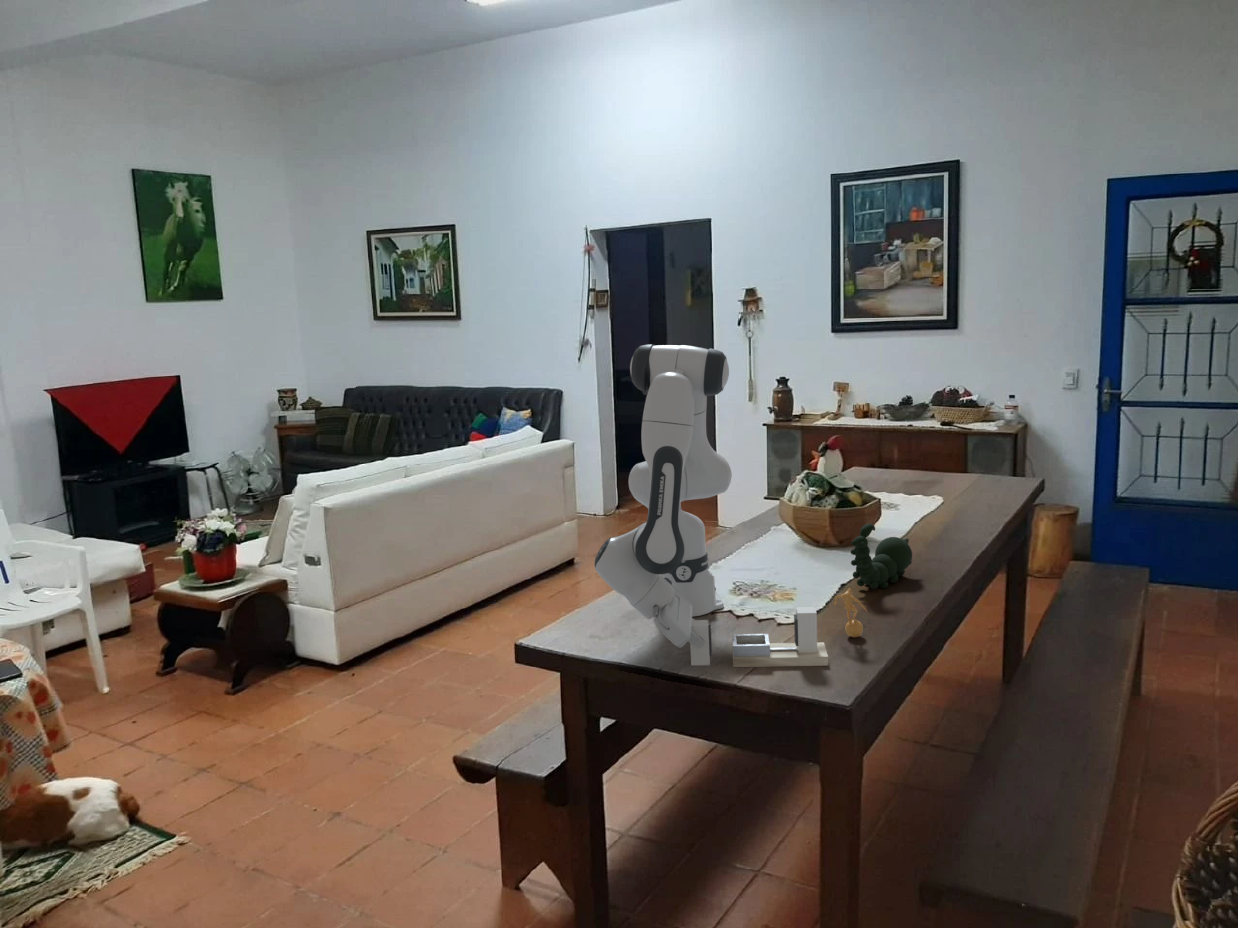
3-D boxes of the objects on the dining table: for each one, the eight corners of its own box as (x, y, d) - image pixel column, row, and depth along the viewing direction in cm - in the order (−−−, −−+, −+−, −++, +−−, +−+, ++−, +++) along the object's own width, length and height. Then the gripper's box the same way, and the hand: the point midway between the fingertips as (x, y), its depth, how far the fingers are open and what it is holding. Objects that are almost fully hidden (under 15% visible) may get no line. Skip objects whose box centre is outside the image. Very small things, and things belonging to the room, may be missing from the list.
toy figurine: (876, 604, 243) (925, 570, 260) (872, 533, 238) (922, 504, 255) (844, 597, 250) (893, 564, 266) (839, 528, 245) (890, 499, 261)
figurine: (875, 638, 217) (874, 587, 215) (861, 646, 213) (860, 594, 211) (842, 630, 223) (842, 580, 221) (828, 638, 219) (827, 587, 216)
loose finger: (691, 658, 212) (689, 620, 210) (712, 658, 211) (710, 619, 210) (691, 665, 208) (689, 626, 207) (712, 665, 208) (710, 625, 206)
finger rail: (732, 652, 214) (730, 605, 212) (823, 650, 212) (823, 603, 210) (733, 666, 206) (731, 618, 204) (828, 665, 204) (827, 616, 202)
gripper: (662, 605, 197) (712, 649, 198) (667, 574, 217) (712, 614, 218) (642, 626, 198) (691, 670, 199) (648, 593, 218) (693, 633, 219)
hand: (702, 640), depth 209 cm, fingers closed on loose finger, 3 cm apart
